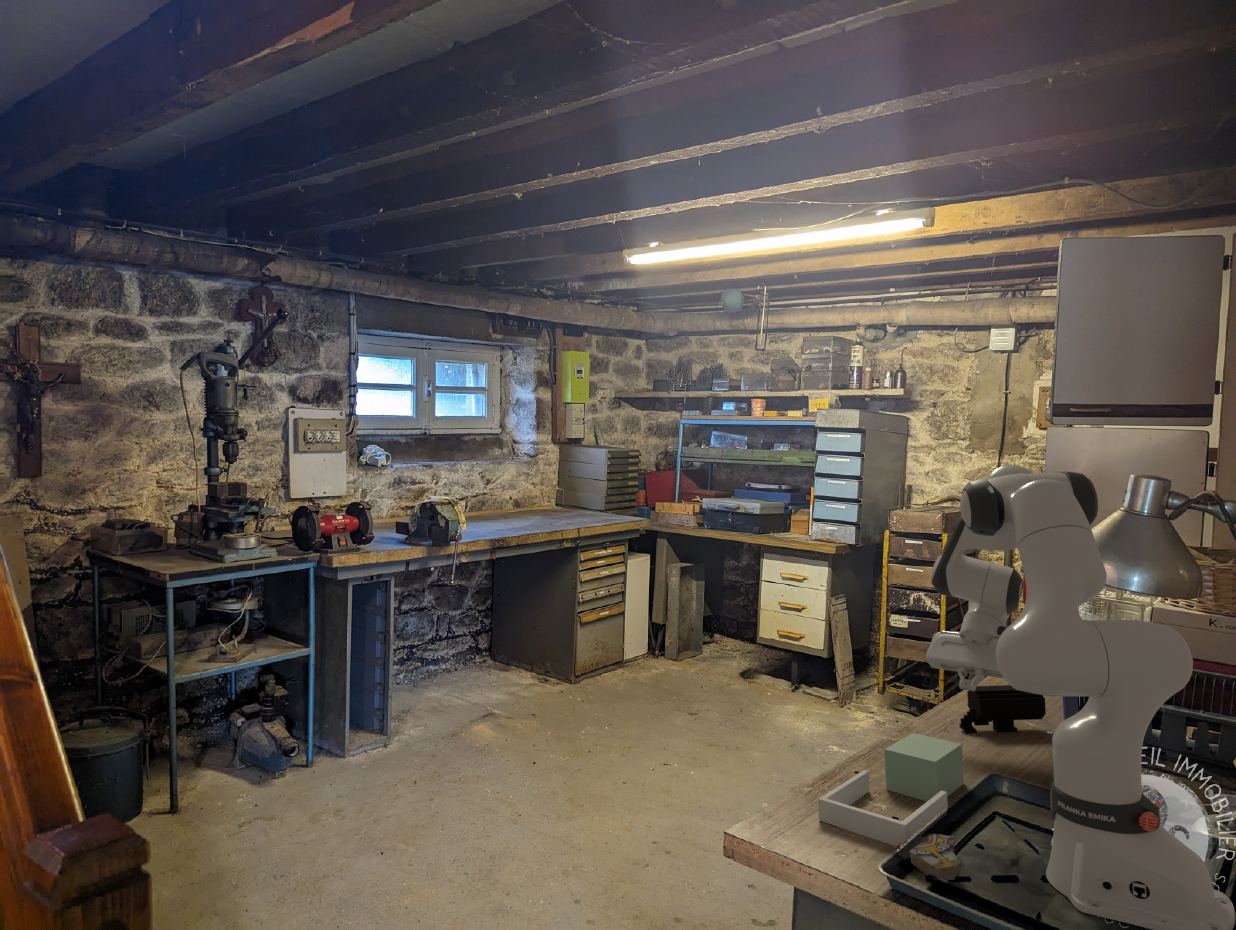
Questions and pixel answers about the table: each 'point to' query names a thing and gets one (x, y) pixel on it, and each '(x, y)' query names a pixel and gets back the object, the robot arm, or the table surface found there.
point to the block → (923, 766)
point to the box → (872, 824)
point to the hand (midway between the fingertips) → (966, 688)
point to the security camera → (1001, 708)
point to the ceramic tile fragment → (935, 856)
